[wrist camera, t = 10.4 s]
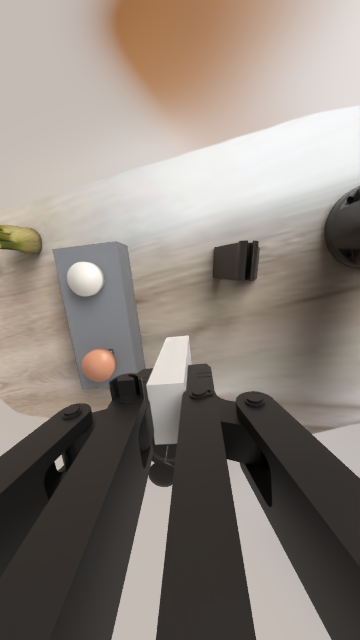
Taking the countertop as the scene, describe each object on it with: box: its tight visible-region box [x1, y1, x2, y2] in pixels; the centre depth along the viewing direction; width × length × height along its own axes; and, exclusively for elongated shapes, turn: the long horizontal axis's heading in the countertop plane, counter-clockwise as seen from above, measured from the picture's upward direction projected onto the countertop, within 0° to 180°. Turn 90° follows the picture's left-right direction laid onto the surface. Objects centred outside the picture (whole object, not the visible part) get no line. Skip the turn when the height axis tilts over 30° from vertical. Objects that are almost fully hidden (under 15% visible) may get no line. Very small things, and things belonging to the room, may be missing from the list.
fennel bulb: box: [0, 225, 42, 254], centre depth 43 cm, size 6×5×12 cm
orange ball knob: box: [81, 348, 117, 382], centre depth 46 cm, size 6×6×8 cm
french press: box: [148, 435, 177, 487], centre depth 43 cm, size 12×9×23 cm
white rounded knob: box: [67, 262, 105, 296], centre depth 44 cm, size 6×6×8 cm
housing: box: [52, 241, 145, 389], centre depth 47 cm, size 12×28×7 cm, turn 6°
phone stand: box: [213, 241, 260, 280], centre depth 41 cm, size 9×6×12 cm, turn 88°
